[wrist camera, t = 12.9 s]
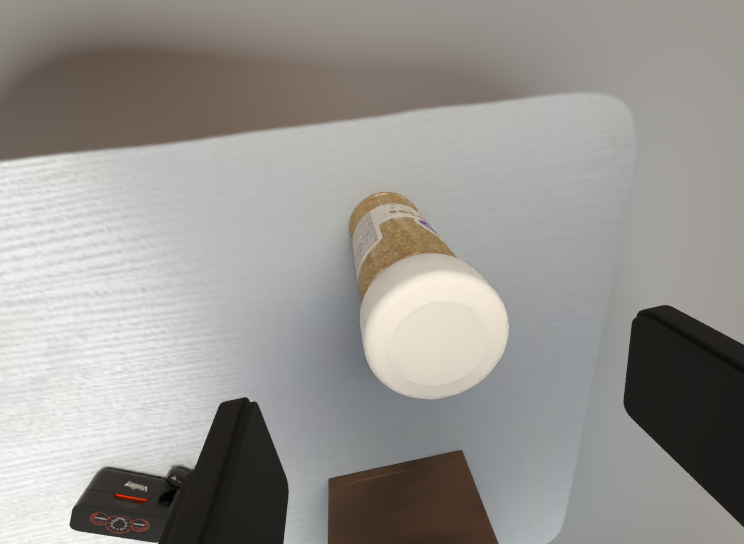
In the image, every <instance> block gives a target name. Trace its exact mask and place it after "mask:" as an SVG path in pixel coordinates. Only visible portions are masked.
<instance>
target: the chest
mask: <svg viewBox="0 0 744 544" xmlns="http://www.w3.org/2000/svg"><path fill="white" fill-rule="evenodd" d="M328 544H498V541H497V539H496V536H495V533H494V531H493V528H492V526H491V523H490V521H489V518H488V516H487V513H486V510H485V508H484V505H483V503H482V500H481V498H480V495H479V493H478V490H477V487H476V485H475V482H474V480H473V477H472V475H471V472H470V469H469V467H468V464H467V462H466V459H465V457H464V454H463V452H462V450H461V451H456V452H452V453H447V454H443V455H438V456H433V457H429V458H424V459H419V460H415V461H410V462H406V463H401V464H396V465H392V466H387V467H383V468H378V469H373V470H369V471H364V472H359V473H355V474H350V475H346V476H341V477H336V478H332V479H329V502H328Z"/></svg>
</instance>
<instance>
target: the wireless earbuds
mask: <svg viewBox="0 0 744 544" xmlns="http://www.w3.org/2000/svg"><path fill="white" fill-rule="evenodd" d="M188 473H189V472H188V471H185V470H182V469H178V468H177V469H171V470H170V471H169V472H168V474H167V476H166V479H161V478H156V477H150V476H145V475H140V474H135V473H130V472H124V471H119V470H114V469H108V468H105V469H102V470H100V471H99V472H97V474H96V475H95V476H94V478H93V479H92V481H91V482H90V484H89V485H88V487H87V488H86V490H85V491H84V493H83V494H82V496H81V497H80V499H79V500H78V501H77V503H76V504H75V506H74V507H73V509H72V514H71V519H70V527H71V528H72V529H74V530H76V531H81V532H88V533H94V534H101V535H107V536H114V537H121V538H127V539H134V540H140V541H147V542H154V543H157V542H159V540H160V538H161V535H162V533H163V530H164V528H165V525H166V523H167V521H168V518H169V516H170V513H171V511H172V508H173V506H174V503H175V501H176V498H177V496H178V493H179V491H180V489H181V486H182V484H183V481H184V479H185V477H186V476H187V474H188Z"/></svg>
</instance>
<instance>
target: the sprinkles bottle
mask: <svg viewBox="0 0 744 544" xmlns="http://www.w3.org/2000/svg"><path fill="white" fill-rule="evenodd" d="M349 228H350V236H351V239H352V242H353V254H354V261H355V268H356V275H357V282H358V288H359V293H360V295H361V300H362V304H361V309H360V328H361V335H362V342H363V348H364V352H365V356H366V360H367V362H368V364H369V366H370V368H371V370H372V372H373V373H374V374H375V375H376V377H377V378H378V379H379V380H380V381H381V382H382V383H383V384H385V385H386V386H387V387H388V388H390V389H391V390H393V391H395V392H397V393H399V394H402V395H405V396H408V397H412V398H418V399H440V398H446V397H450V396H453V395H456V394H459V393H462V392H464V391H466V390H468V389H470V388H471V387H473V386H475V385H476V384H478V383H479V382H481V381H482V380H483V379H484V378H485V377H486V376H487V375H488V374H489V373H490V372H491V371H492V370H493V369H494V368H495V366H496V365H497V363H498V362H499V360H500V359H501V357H502V355H503V353H504V350H505V348H506V344H507V341H508V335H509V323H508V317H507V312H506V309H505V306H504V304H503V302H502V300H501V298H500V297H499V295H498V294H497V293H496V292H495V290H494V289H493V288H492V287H491V285H490V284H489V283H488V282H487V281H486V280H485V279H484V278H483V277H482V276H481V275H480V274H479V273H478V272H477V271H476V270H475V269H474V268H473V267H472V266H470V265H469V264H468V263H466V262H465V261H462V260H460V259H458V258H457V257H456V256H455V255H454V254H453V253H452V251H451V250H450V249H449V248H448V246H447V244H446V243H445V242H444V241H443V240H442V238H441V237H440V236H439V235H438V234H437V233H436V232H435V231H434V229H433V228H432V227H431V226H430V225H429V224H428V222H427V221H426V220H425V219H424V218H423V217H422V215H421V214H420V213H418V211H417V209H416V207H415V206H414V204H413V203H412V202H410V201H409V200H408V199H407V198H406V197H404V196H402V195H399V194H396V193H390V192H381V193H377V194H373V195H371V196H369V197H368V198H366V199H364V200H363V201H362V202H361V203H360V204H359V205H358V206H357V207H356V208H355V210H354V212H353V215H352V217H351V220H350V225H349Z"/></svg>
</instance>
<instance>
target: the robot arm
mask: <svg viewBox="0 0 744 544" xmlns="http://www.w3.org/2000/svg"><path fill="white" fill-rule="evenodd" d="M624 407H625V409H626V412H627V413H628V415H629V416H630V417H631V418H632V419H633V420H634V421H635V422H636V423H637V424H638V425H639V426H640V427H641V428H642V429H643V430H644V431H645V432H646V433H647V434H648V435H649V436H651V437H652V438H653V439H654V440H655V441H656V442H657V443H658V444H659V445H660V446H661V447H662V448H663V449H664V450H665V451H666V452H667V453H668V454H669V455H670V456H671V457H672V458H673V459H674V460H675V461H676V462H677V463H678V464H679V465H680V466H681V467H682V468H684V470H685V471H687V473H689V474H690V475H691V476H692V477H693V478H694V479H695V480H696V481H697V482H698V483H699V484H700V485H701V486H702V487H703V488H704V489H705V490H706V491H707V492H708V493H709V494H710V495H711V496H712V497H713V498H714V499H715V500H716V501H717V502H718V503H720V504H721V505H722V506H723V507H724V508H725V509H726V510H727V511H728V512H729V513H730V514H731V515H732V516H733V517H734V518H735V519H736V520H737V521H738V522H739V523H740V524H741V525H742V526H743V527H744V345H743V344H741V343H739V342H737V341H735V340H734V339H732V338H730V337H728V336H726V335H724V334H722V333H720V332H718V331H717V330H714V329H713V328H711V327H709V326H707V325H705V324H704V323H701V322H700V321H698V320H696V319H694V318H692V317H690V316H688V315H687V314H685V313H683V312H681V311H679V310H677V309H675V308H673V307H671V306H668V305H662V306H658V307H653V308H649V309H645V310H641V311H639V313H638V314H637V317H636V318H634V320H633V321H632V327H631V337H630V346H629V355H628V364H627V373H626V383H625V393H624ZM288 493H289V491H288V482H287V478H286V475H285V473H284V470H283V468H282V465H281V462H280V460H279V457H278V455H277V452H276V449H275V447H274V444H273V442H272V439H271V436H270V434H269V431H268V429H267V426H266V424H265V421H264V418H263V416H262V413H261V411H260V408H259V406H258V404H257V402H250V401H249V399H248V398H246V397H244V398H239V399H235V400H230V401H226V402H222V403H221V404H220V405H219V407H218V410H217V413H216V415H215V418H214V420H213V423H212V425H211V428H210V431H209V433H208V436H207V438H206V441H205V443H204V446H203V449H202V451H201V454H200V456H199V459H198V462H197V464H196V467H195V469H193V470H191V471H190V472H189V473H188V474H187V476H186V477H185V479H184V481H183V484H182V486H181V489H180V491H179V493H178V496H177V498H176V501H175V503H174V506H173V508H172V511H171V513H170V516H169V518H168V521H167V523H166V525H165V528H164V530H163V533H162V535H161V538H160V540H159V543H158V544H283V541H284V532H285V523H286V514H287V504H288Z"/></svg>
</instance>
